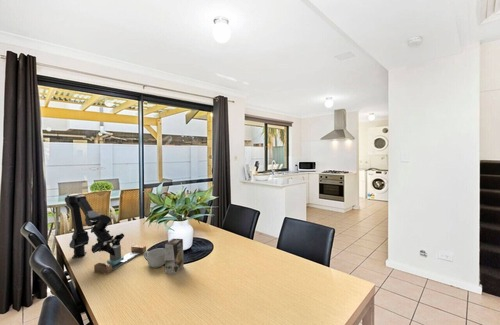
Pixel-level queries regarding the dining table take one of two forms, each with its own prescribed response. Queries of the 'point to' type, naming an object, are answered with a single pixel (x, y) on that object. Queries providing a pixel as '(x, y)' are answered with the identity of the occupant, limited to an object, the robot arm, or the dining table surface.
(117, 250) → the grey teal block
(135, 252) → the rail
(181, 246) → the coffee box
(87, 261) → the dining table surface
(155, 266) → the teacup
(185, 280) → the dining table surface
